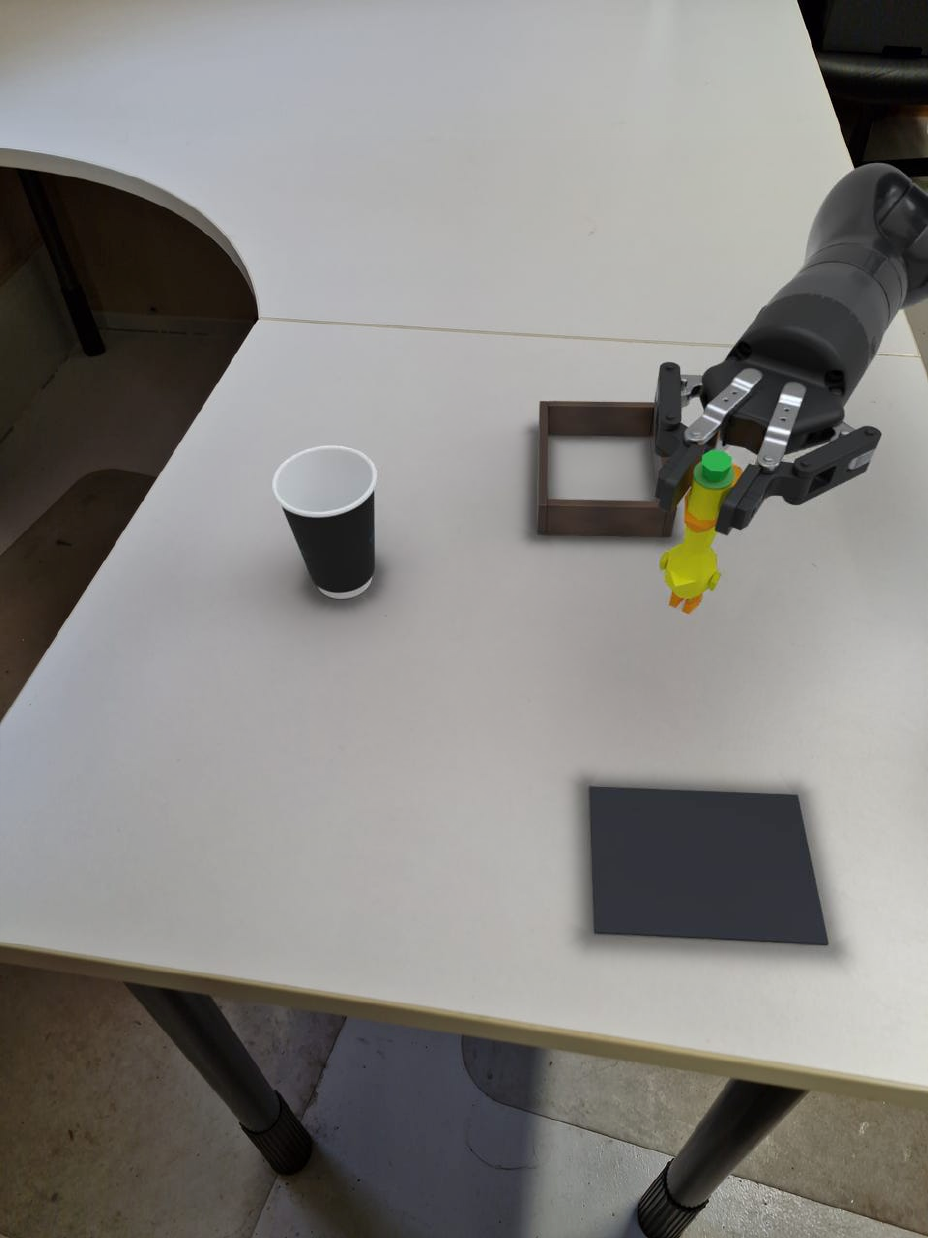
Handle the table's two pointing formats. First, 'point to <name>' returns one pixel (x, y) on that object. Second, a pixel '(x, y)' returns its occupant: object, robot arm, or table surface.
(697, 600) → the toy figure
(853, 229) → the robot arm
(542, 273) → the table surface
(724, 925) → the rubber pad
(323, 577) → the dixie cup
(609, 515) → the tray box
